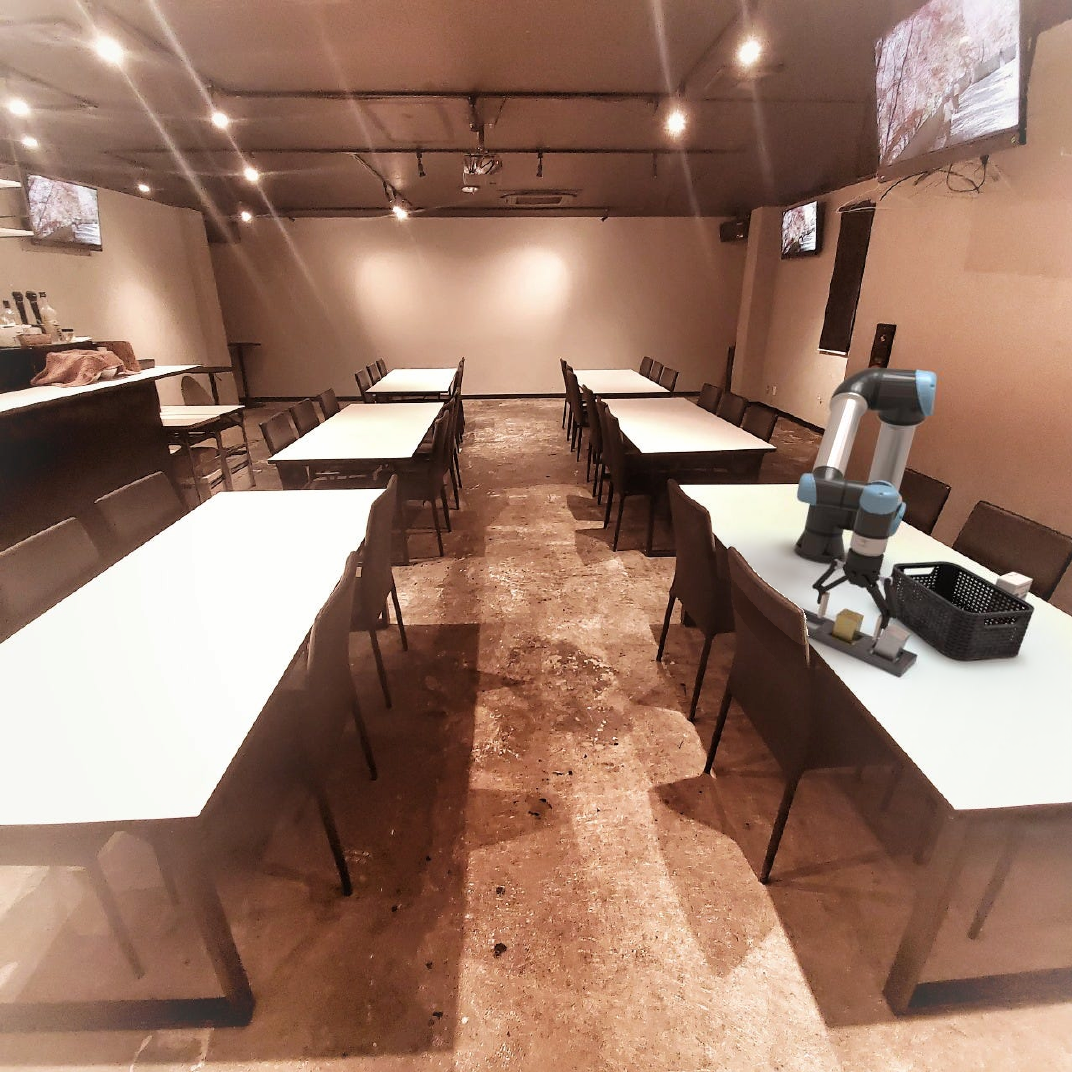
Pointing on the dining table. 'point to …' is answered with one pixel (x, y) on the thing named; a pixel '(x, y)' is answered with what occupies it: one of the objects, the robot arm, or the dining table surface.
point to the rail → (858, 646)
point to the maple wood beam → (847, 626)
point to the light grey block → (891, 643)
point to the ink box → (1014, 586)
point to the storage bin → (960, 611)
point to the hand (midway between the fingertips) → (847, 626)
